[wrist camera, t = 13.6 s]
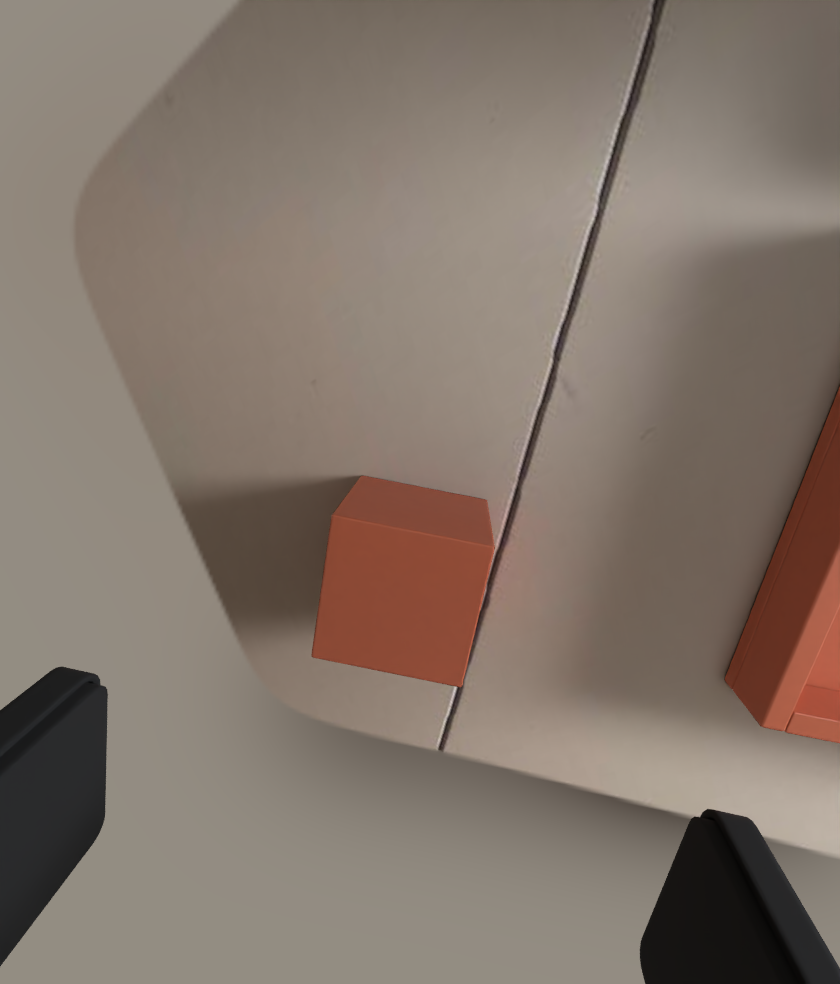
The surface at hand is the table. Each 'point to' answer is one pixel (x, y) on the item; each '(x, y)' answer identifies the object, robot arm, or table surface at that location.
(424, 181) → the table surface
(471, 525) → the block
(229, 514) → the table surface
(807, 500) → the block tray
